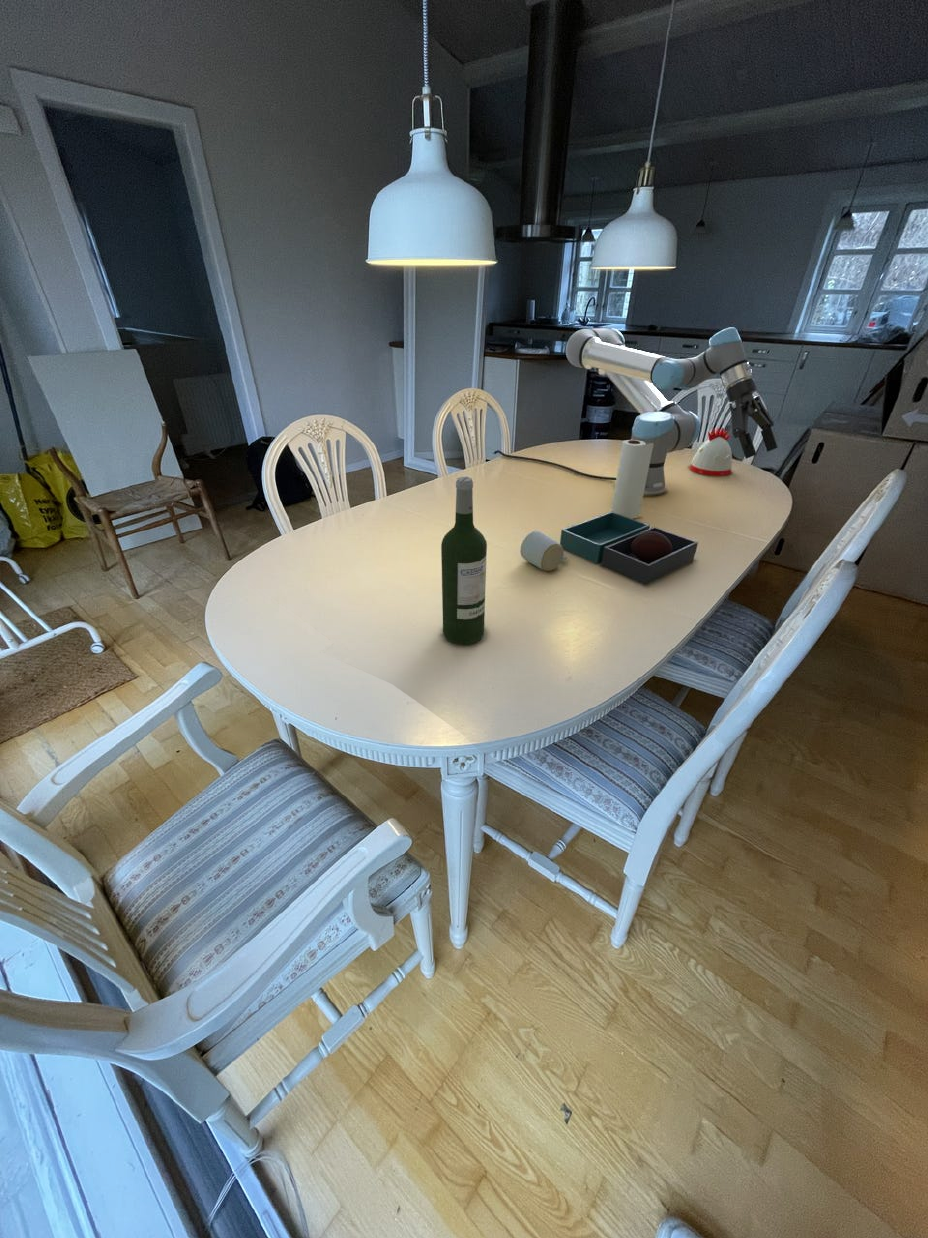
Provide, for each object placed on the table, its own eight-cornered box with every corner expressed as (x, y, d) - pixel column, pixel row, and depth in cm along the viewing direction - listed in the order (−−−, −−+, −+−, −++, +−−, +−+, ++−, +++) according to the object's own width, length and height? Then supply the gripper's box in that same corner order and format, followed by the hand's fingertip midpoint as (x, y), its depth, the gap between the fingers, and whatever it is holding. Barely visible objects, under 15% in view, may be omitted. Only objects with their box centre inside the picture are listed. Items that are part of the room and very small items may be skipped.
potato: (667, 572, 118) (675, 541, 114) (626, 565, 121) (632, 535, 117) (668, 557, 125) (675, 528, 120) (629, 552, 127) (635, 523, 123)
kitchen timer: (683, 465, 193) (693, 423, 185) (717, 464, 195) (728, 423, 187) (701, 476, 182) (712, 432, 174) (737, 474, 183) (750, 431, 175)
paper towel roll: (606, 516, 148) (618, 441, 137) (616, 511, 152) (629, 437, 140) (628, 523, 144) (643, 446, 133) (638, 517, 148) (653, 442, 136)
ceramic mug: (541, 576, 117) (545, 545, 113) (518, 563, 122) (521, 533, 118) (574, 565, 122) (578, 535, 118) (550, 553, 128) (554, 524, 124)
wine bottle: (470, 650, 93) (472, 490, 76) (434, 637, 96) (430, 481, 80) (491, 630, 98) (498, 476, 82) (457, 618, 102) (457, 468, 86)
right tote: (601, 565, 122) (604, 547, 119) (650, 544, 132) (654, 526, 130) (644, 585, 114) (649, 565, 111) (693, 560, 124) (698, 542, 122)
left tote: (559, 547, 130) (561, 529, 128) (608, 528, 141) (611, 511, 138) (597, 564, 122) (600, 545, 120) (646, 542, 133) (650, 525, 130)
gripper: (730, 379, 138) (755, 454, 139) (771, 373, 151) (793, 441, 152) (704, 393, 144) (728, 465, 145) (746, 387, 157) (768, 452, 159)
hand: (762, 453), depth 149 cm, fingers open, 13 cm apart
